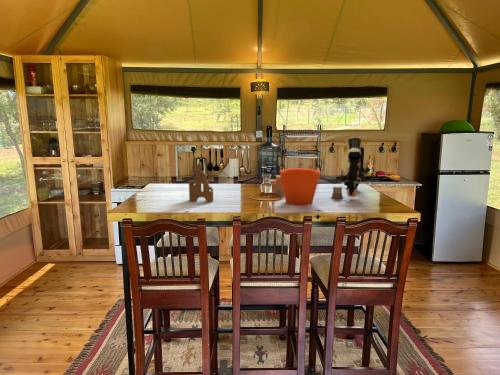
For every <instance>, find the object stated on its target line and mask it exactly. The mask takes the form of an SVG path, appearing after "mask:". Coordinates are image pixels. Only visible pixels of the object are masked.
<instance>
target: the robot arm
mask: <svg viewBox="0 0 500 375" xmlns="http://www.w3.org/2000/svg"><path fill="white" fill-rule="evenodd" d="M347 142H348V144H347V145H348V149H349V152H348V155H347V158H348V159H347V163H348V165H349V166H348V169H347V172H346V174H339V178H338V179H339V180H340V182H343V181H344V182H343V186H346V187H345V190H348V189H349V192H350V195H352V194H353V192H354V189H357V190H358V187H359V186H360V183H361V182H362V178H361V177H360V172H359V170H360V169H359V168H360V167H359V163H360V164H361V162H362V158H363V155H362V153H361V152H360V151H361V150H360V146H361V145H362V138H360V137H358V136H352V137H351V136H350V138H348V140H347Z"/></svg>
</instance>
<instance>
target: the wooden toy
mask: <svg viewBox="0 0 500 375" xmlns="http://www.w3.org/2000/svg"><path fill="white" fill-rule="evenodd" d="M191 172H194V174H195V175H194V178H195V181H194V180H193V179H191V180H189V181H188V192H189V193H188V197H189V201H190V203H197V202H198V200H199V198H203V199H205V201H206V203H213V202H214V189H213V187H212V186H211V185H210V182H209V181H208V180H207V174H206V172H205V171H204V170H202V161H199V162H198V163H197V164H196V165H195V166H194V167H193V168H192V169H191Z"/></svg>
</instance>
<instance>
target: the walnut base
mask: <svg viewBox="0 0 500 375" xmlns="http://www.w3.org/2000/svg"><path fill="white" fill-rule="evenodd" d="M343 198H344V196H343V193H341V194H333V193H331V197H330V199H335V200H342V199H343Z"/></svg>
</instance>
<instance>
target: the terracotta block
mask: <svg viewBox="0 0 500 375" xmlns="http://www.w3.org/2000/svg"><path fill="white" fill-rule="evenodd" d="M357 192H358V188H357V189H354V192H353V194H352V195H350V192H349V189H347V197H348V198H349V197H350V198H355V197H357Z"/></svg>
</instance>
